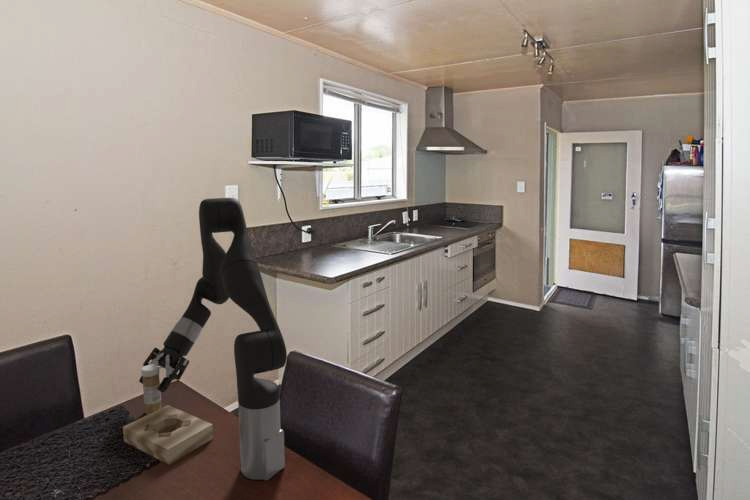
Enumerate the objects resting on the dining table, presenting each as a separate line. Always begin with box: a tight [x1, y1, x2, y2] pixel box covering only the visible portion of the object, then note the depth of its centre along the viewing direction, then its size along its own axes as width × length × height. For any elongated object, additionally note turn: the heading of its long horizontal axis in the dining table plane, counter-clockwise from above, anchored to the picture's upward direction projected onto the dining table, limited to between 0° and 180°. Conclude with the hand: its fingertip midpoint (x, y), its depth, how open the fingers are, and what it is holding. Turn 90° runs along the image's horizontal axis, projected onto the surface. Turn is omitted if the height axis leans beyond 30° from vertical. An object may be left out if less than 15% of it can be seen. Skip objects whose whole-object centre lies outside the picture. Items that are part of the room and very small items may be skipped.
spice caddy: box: [122, 404, 214, 466], centre depth 122 cm, size 18×13×4 cm
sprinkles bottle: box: [140, 364, 163, 415], centre depth 135 cm, size 5×5×14 cm
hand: (150, 387), depth 135 cm, fingers open, 8 cm apart
